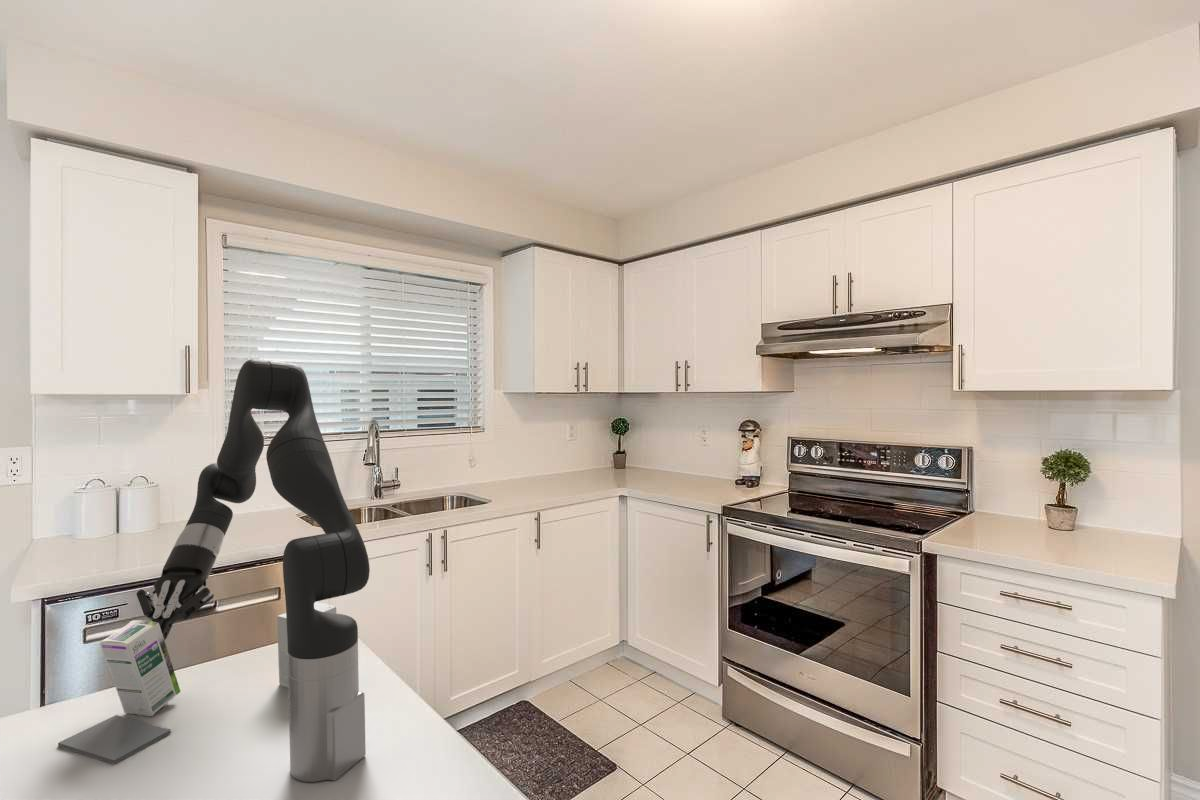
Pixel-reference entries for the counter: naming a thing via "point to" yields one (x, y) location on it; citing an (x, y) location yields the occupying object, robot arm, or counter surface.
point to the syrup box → (140, 667)
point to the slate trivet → (114, 739)
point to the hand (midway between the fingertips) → (153, 642)
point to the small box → (284, 641)
